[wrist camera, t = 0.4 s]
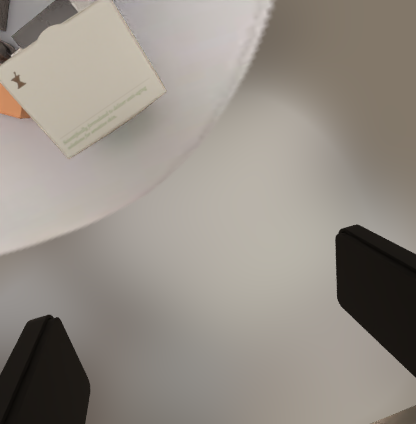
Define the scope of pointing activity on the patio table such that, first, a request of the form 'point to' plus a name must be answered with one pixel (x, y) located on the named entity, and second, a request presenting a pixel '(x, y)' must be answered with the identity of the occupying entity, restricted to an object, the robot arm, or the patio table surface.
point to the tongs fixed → (3, 50)
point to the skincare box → (83, 78)
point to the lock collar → (10, 105)
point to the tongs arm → (48, 20)
